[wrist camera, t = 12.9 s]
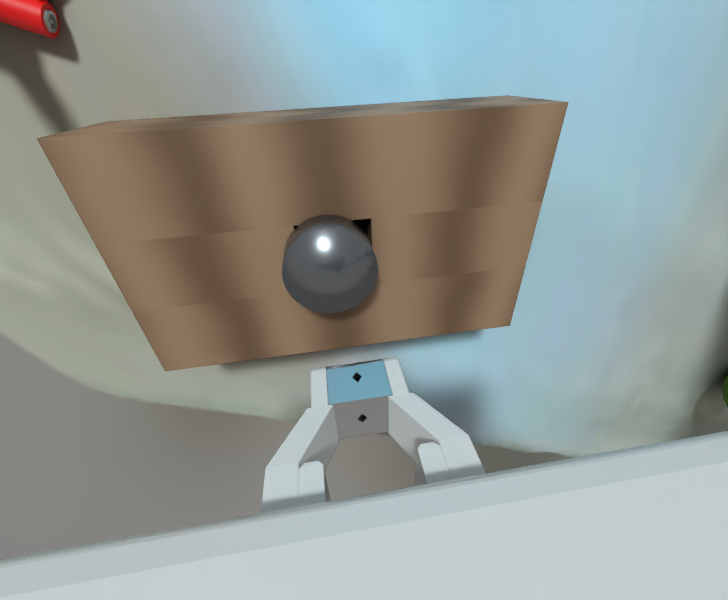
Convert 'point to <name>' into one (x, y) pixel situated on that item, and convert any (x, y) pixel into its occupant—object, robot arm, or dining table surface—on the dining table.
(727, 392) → the avocado
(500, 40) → the dining table surface
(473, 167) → the hitch block
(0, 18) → the tow hook
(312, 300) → the steel pin
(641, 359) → the dining table surface
